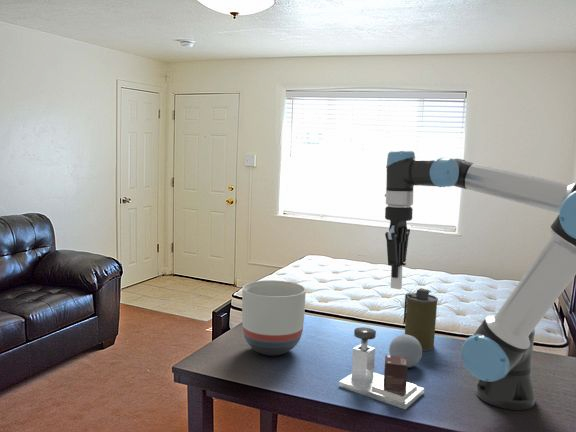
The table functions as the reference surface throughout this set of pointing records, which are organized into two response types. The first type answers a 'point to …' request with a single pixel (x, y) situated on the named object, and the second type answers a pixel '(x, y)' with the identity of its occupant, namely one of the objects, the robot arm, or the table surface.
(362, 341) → the plunger
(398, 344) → the decorative stone
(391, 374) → the box
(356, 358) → the press
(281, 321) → the planter
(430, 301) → the canister
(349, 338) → the table surface
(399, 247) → the robot arm
